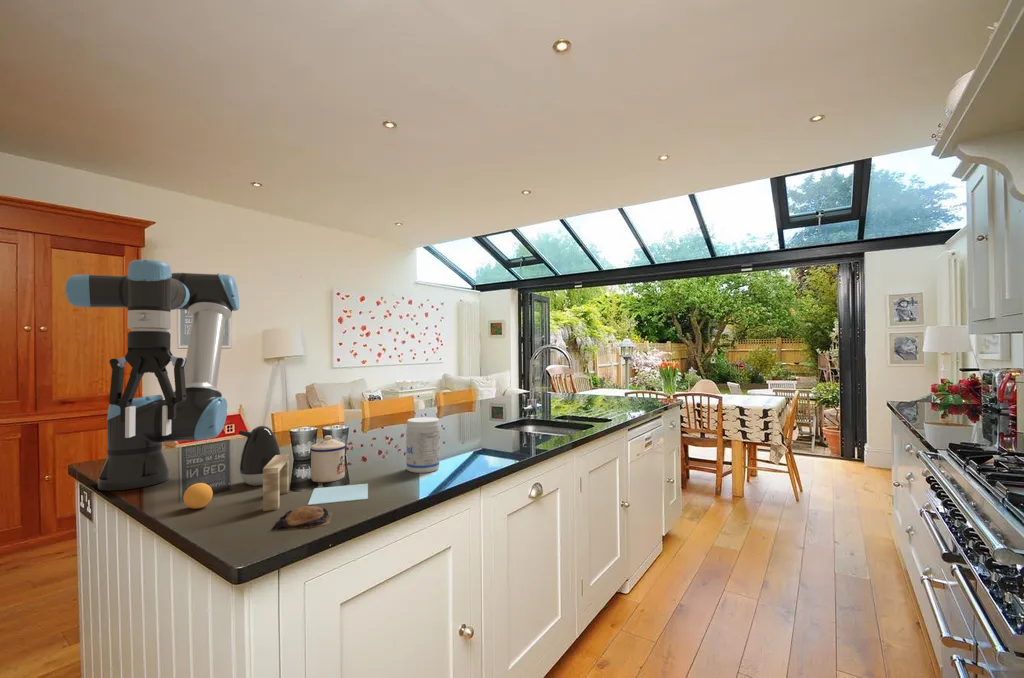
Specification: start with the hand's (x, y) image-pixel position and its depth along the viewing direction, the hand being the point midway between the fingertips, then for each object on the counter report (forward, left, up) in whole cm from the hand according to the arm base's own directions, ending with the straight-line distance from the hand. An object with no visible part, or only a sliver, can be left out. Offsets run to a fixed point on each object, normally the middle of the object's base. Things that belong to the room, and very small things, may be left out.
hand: (148, 435), depth 102 cm
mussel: (+17, +34, -18) cm, 42 cm away
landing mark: (0, +40, -17) cm, 43 cm away
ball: (0, +10, -14) cm, 17 cm away
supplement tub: (-17, +62, -17) cm, 66 cm away
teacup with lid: (-18, +36, -17) cm, 43 cm away
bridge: (0, +26, -17) cm, 31 cm away
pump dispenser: (-18, +19, -17) cm, 31 cm away
